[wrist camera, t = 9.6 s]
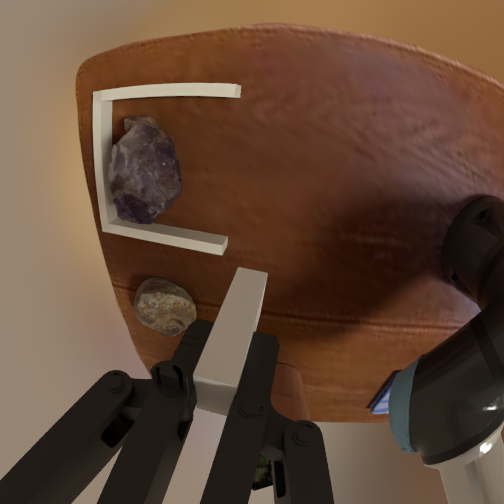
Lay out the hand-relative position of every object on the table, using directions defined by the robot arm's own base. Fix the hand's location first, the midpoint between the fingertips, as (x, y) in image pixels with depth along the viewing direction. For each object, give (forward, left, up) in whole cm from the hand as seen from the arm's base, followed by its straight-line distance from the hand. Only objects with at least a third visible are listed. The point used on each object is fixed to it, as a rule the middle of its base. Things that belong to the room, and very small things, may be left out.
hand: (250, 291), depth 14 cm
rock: (+16, -1, -21) cm, 26 cm away
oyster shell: (+17, +25, -21) cm, 37 cm away
